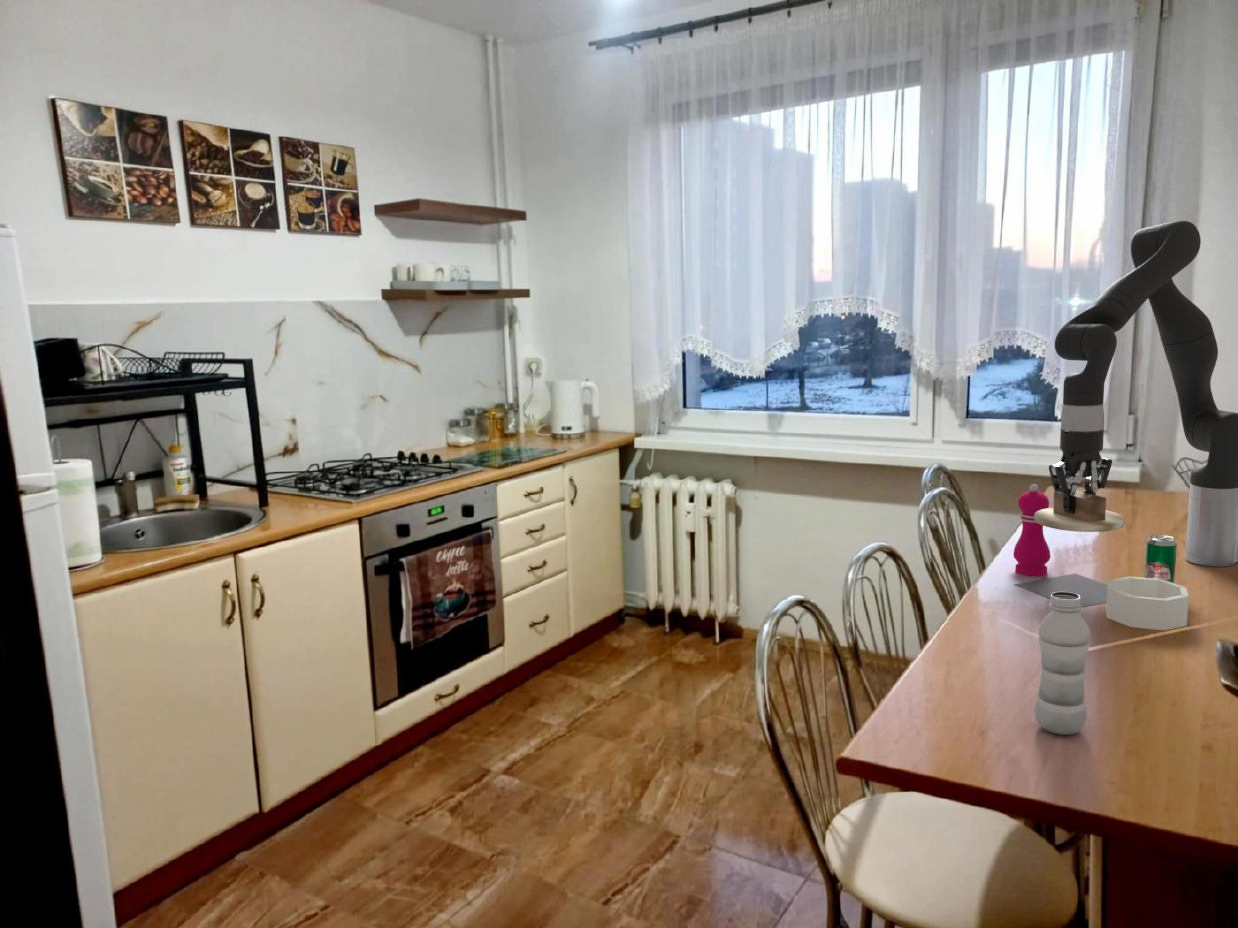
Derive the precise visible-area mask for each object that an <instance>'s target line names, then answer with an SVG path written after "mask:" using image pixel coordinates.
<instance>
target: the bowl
mask: <svg viewBox="0 0 1238 928" xmlns="http://www.w3.org/2000/svg"><path fill="white" fill-rule="evenodd" d="M1106 581H1107V582H1106V584H1107V597H1106V603H1105V614H1106V618H1107V619H1109V620H1111V621H1115V622H1117V623H1120V624H1122V625H1125V626H1127V627H1130V628H1136V629H1138V628H1139V629H1147V630H1157V631H1168V630H1173V629H1178V628H1183V627H1187V626H1188V615H1189V614H1188V611H1189V600H1190V599H1189V592H1188V589H1187V587H1186V586H1183V585H1181V584H1177V583H1175V582H1174V583H1172V582H1168V581H1165V580H1162V579H1154V578H1144V577H1140V576H1130V575H1129V576H1125V577H1118V578H1113V579H1107V580H1106Z"/></svg>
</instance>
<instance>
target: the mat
mask: <svg viewBox="0 0 1238 928" xmlns="http://www.w3.org/2000/svg"><path fill="white" fill-rule="evenodd" d="M1013 585H1014V586H1016V587H1019V588H1021V589H1023V590H1025V591H1028V592H1031V593H1034V594H1035V595H1038V596H1041V597H1044V598H1046V599H1049V600H1051V594H1052V593H1054V592H1072V593H1075V594H1078V595H1079V596H1080V605H1081V609H1082V608H1086V607H1091V606H1097V605H1103V604H1106V597H1107V583H1103V582H1101V581H1098V580H1095V579H1093V578H1089V577H1086V576H1083V575H1081V574H1078V573H1071V574H1065V575H1059V576H1054V577H1053V576H1052V577H1048V578H1042V579H1037V580H1030V581H1026V582H1019V583H1015V584H1013Z"/></svg>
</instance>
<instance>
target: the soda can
mask: <svg viewBox="0 0 1238 928" xmlns="http://www.w3.org/2000/svg"><path fill="white" fill-rule="evenodd" d="M1175 540H1176V539H1175V537H1173V536H1169V535H1163V534H1155V535H1154V534H1153V535H1149V536H1148V539H1147V540H1146V542H1145V560H1144V561H1145V562H1144V577H1143V578H1154V579H1162V580H1165V581H1168V582H1172V583H1175V578H1176V577H1175V576H1176V565H1177V563H1176V562H1177V547H1178V545H1177V542H1176V541H1175Z"/></svg>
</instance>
